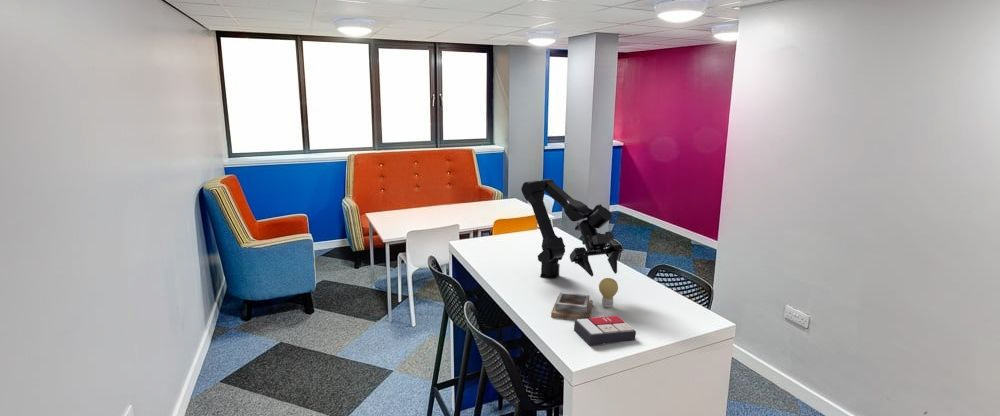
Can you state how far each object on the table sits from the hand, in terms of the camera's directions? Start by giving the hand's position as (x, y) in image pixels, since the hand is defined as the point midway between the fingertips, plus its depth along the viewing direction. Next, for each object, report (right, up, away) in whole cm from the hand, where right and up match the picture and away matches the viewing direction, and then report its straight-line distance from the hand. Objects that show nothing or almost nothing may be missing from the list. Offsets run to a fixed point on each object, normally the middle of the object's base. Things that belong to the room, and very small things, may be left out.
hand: (604, 274), depth 177 cm
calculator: (-4, -16, -21) cm, 27 cm away
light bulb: (+1, -11, -1) cm, 11 cm away
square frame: (-12, -11, -5) cm, 17 cm away
